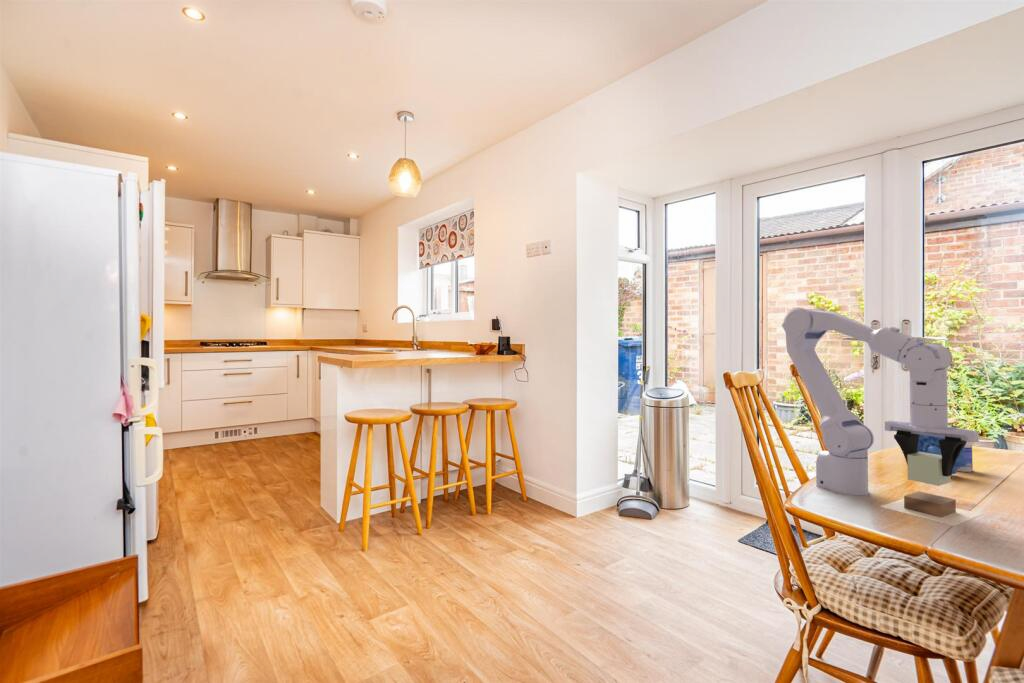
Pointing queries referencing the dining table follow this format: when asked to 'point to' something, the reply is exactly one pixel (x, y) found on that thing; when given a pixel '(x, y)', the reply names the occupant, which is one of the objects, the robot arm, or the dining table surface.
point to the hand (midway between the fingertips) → (929, 472)
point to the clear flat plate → (950, 519)
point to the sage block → (926, 468)
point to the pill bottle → (967, 459)
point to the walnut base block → (930, 504)
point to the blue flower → (938, 449)
